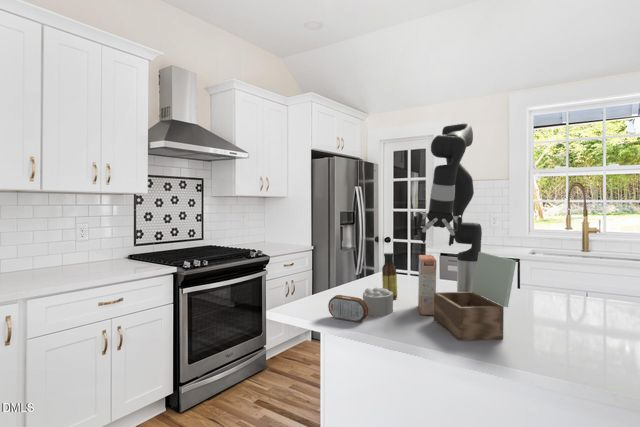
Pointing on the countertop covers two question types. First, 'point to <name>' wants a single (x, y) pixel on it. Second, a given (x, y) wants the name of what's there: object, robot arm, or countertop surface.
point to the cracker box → (426, 284)
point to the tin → (348, 308)
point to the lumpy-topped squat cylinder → (378, 301)
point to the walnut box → (468, 316)
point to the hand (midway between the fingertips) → (436, 243)
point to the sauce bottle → (389, 274)
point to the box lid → (494, 278)
